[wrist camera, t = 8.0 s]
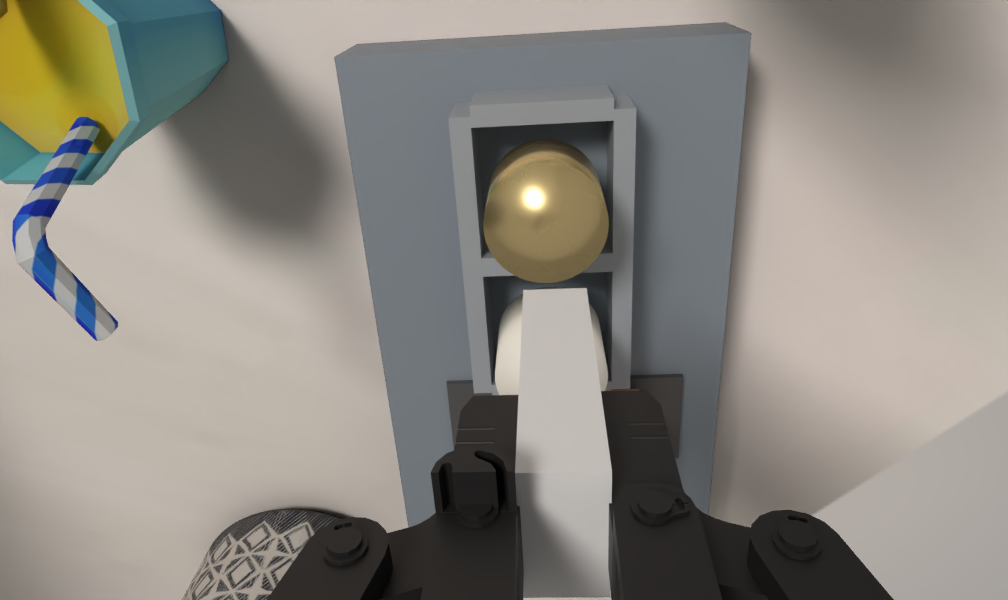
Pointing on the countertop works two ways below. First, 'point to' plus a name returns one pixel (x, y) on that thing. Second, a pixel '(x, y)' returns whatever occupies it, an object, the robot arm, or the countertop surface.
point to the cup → (90, 107)
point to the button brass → (545, 212)
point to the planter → (254, 555)
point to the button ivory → (511, 348)
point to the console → (627, 193)
